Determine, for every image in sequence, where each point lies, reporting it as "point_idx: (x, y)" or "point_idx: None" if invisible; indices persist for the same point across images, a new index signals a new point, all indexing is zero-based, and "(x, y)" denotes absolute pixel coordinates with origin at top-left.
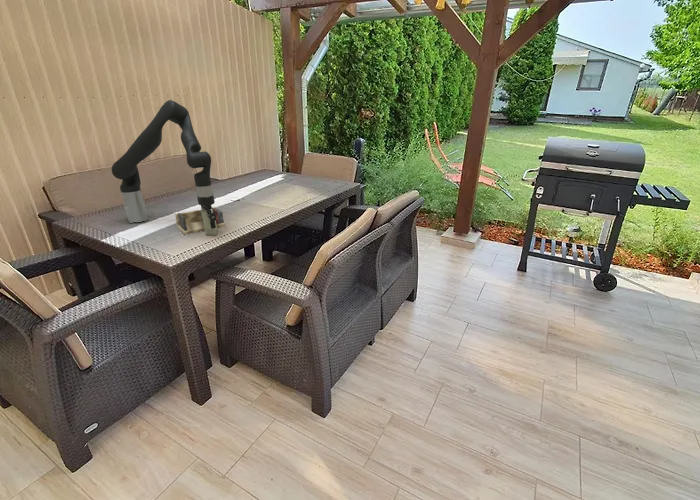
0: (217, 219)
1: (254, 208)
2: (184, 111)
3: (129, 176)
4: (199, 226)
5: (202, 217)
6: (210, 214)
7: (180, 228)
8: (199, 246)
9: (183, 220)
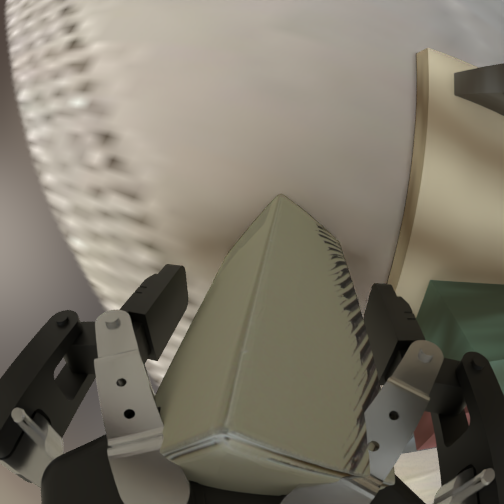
0: None
1: (426, 464)
2: None
3: None
4: (471, 229)
5: (248, 300)
6: (6, 380)
7: None
8: (84, 88)
9: None
